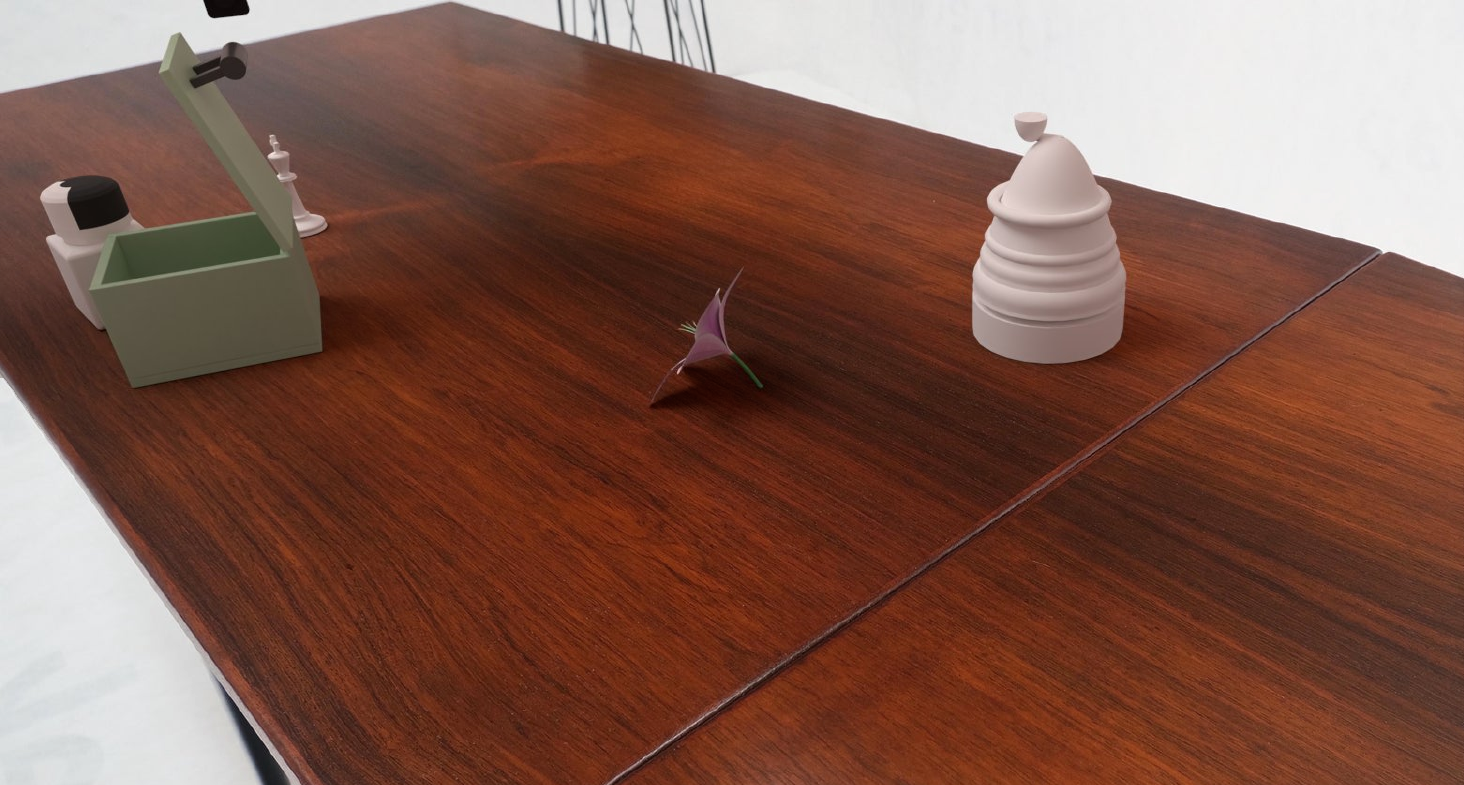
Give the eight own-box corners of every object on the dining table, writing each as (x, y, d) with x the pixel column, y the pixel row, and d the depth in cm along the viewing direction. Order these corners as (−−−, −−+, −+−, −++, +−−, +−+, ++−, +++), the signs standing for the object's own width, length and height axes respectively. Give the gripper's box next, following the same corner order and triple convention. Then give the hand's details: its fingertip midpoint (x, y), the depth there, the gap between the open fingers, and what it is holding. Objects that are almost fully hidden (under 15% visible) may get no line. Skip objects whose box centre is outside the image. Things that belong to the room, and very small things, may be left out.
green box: (132, 388, 99) (88, 290, 94) (146, 326, 109) (106, 234, 104) (322, 351, 104) (290, 256, 99) (319, 295, 113) (289, 205, 108)
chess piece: (286, 242, 124) (254, 147, 119) (270, 229, 127) (238, 135, 122) (334, 229, 127) (305, 135, 121) (318, 217, 130) (288, 124, 124)
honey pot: (951, 350, 101) (948, 137, 91) (999, 288, 111) (1001, 89, 100) (1101, 374, 97) (1116, 153, 86) (1137, 307, 106) (1154, 102, 96)
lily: (746, 348, 104) (677, 261, 99) (835, 335, 96) (764, 239, 91) (664, 446, 98) (587, 359, 93) (751, 441, 90) (671, 344, 85)
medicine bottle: (158, 284, 116) (108, 163, 109) (183, 306, 112) (132, 181, 105) (76, 308, 112) (19, 183, 105) (99, 332, 108) (41, 203, 101)
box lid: (157, 73, 89) (223, 46, 89) (170, 35, 98) (229, 11, 99) (283, 253, 98) (341, 227, 99) (284, 202, 108) (336, 179, 109)
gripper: (119, -225, 102) (195, -10, 111) (88, -211, 88) (177, 31, 98) (217, -230, 104) (282, -19, 113) (201, -218, 90) (276, 20, 100)
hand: (233, 4), depth 106 cm, fingers open, 9 cm apart
